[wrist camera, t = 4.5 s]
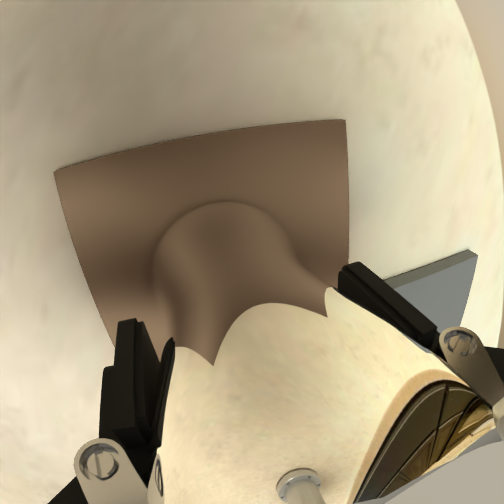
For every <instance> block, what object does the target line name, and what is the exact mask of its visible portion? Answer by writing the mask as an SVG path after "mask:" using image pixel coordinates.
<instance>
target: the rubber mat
mask: <svg viewBox="0 0 504 504" xmlns="http://www.w3.org/2000/svg"><path fill="white" fill-rule="evenodd" d="M477 258H478V255H477V254H475V253H473V252H472V251H470V250H466V251H464V252H461V253H458V254H456V255H453V256H451V257H448V258H445V259H443V260H440V261H437V262H435V263H432V264H429V265H426V266H424V267H421V268H418V269H415V270H413V271H410V272H407V273H404V274H401V275H398V276H395V277H393V278H390V279H387V280H384V282H386V283H387V284H388V285H389V286H390V287H392V288H393V289H394V290H395V291H396V292H398V293H399V294H400V295H401V296H402V297H404V298H405V299H406V300H407V301H408V302H410V303H411V304H412V305H413V306H414V307H415V308H417V309H418V310H419V311H420V312H421V313H422V314H424V315H425V316H426V317H427V318H428V319H429V320H430V321H432V322H433V323H434V324H435V325H436V326H437V331H438V332H439V333H440V334H441V333H442V331H444V330H445V329H447V328H450V327H460V324H461V320H462V317H463V314H464V310H465V307H466V303H467V300H468V296H469V292H470V288H471V284H472V280H473V276H474V272H475V267H476V263H477Z"/></svg>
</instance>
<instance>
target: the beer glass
mask: <svg viewBox="0 0 504 504" xmlns="http://www.w3.org/2000/svg"><path fill="white" fill-rule="evenodd" d="M151 281H152V288H153V291H154V295H155V298H156V301H157V303H158V306H159V308H160V311H161V313H162V316H163V320H164V341H163V348H162V355H161V361H160V367H159V372H158V378H157V384H156V390H155V397H154V404H153V412H152V419H151V427H150V436H149V450H148V477H147V501H148V504H504V425H503V424H502V423H501V422H500V420H499V419H498V415H497V412H496V410H495V408H494V407H493V405H492V404H491V403H489V402H488V401H487V400H486V399H485V398H484V397H483V396H482V395H481V394H480V393H479V392H478V391H477V390H476V389H475V388H474V387H473V386H472V385H471V384H470V383H469V382H468V381H467V380H466V379H465V378H463V377H462V376H461V375H460V374H459V373H458V372H457V371H456V370H455V369H454V368H453V367H452V366H451V365H449V364H448V363H447V362H445V361H444V360H443V359H441V358H440V357H439V356H437V355H436V354H435V353H433V352H432V351H431V350H429V349H428V348H427V347H425V346H424V345H423V344H421V343H420V342H418V341H417V340H416V339H414V338H413V337H412V336H410V335H409V334H408V333H406V332H405V331H403V330H402V329H401V328H399V327H398V326H396V325H394V324H393V323H391V322H390V321H388V320H387V319H385V318H384V317H382V316H380V315H379V314H377V313H376V312H374V311H373V310H371V309H369V308H368V307H366V306H365V305H363V304H362V303H360V302H358V301H357V300H355V299H353V298H352V297H350V296H349V295H347V294H345V293H344V292H342V291H340V290H339V289H337V288H335V287H334V286H332V285H330V284H329V283H327V282H326V281H324V280H323V279H321V278H320V277H318V276H317V275H315V274H314V273H312V272H311V271H310V270H308V269H307V268H306V267H305V266H304V265H303V264H302V263H301V261H300V260H299V258H298V256H297V254H296V251H295V249H294V247H293V245H292V243H291V241H290V239H289V237H288V236H287V234H286V232H285V231H284V230H283V228H282V227H281V226H280V224H279V223H278V222H277V221H276V220H275V219H274V218H273V217H271V216H270V215H269V214H267V213H266V212H264V211H263V210H261V209H259V208H257V207H254V206H252V205H248V204H244V203H239V202H216V203H211V204H207V205H204V206H201V207H198V208H196V209H194V210H192V211H190V212H188V213H186V214H185V215H183V216H182V217H180V218H179V219H178V220H177V221H175V222H174V223H173V224H172V225H171V226H170V227H169V228H168V230H167V231H166V232H165V233H164V235H163V236H162V238H161V239H160V241H159V243H158V245H157V247H156V249H155V252H154V255H153V259H152V265H151Z"/></svg>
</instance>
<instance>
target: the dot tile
mask: <svg viewBox="0 0 504 504" xmlns="http://www.w3.org/2000/svg"><path fill="white" fill-rule="evenodd" d="M54 177H55V181H56V185H57V189H58V193H59V197H60V201H61V204H62V208H63V211H64V215H65V218H66V222H67V225H68V228H69V232H70V235H71V238H72V241H73V244H74V247H75V250H76V253H77V256H78V259H79V262H80V265H81V267H82V270H83V273H84V276H85V278H86V281H87V284H88V286H89V289H90V291H91V294H92V296H93V299H94V301H95V304H96V306H97V309H98V311H99V313H100V316H101V318H102V320H103V323H104V325H105V327H106V329H107V332H108V334H109V336H110V338H111V340H112V343H113V345H114V347H115V345H116V334H117V325H118V322H119V321H123V320H127V319H132V318H136V319H137V321H138V322H140V321H143V322H144V324H145V326H146V329H147V331H148V334H149V336H150V339H151V341H152V344H153V346H154V349H155V351H156V354H157V356H158V359H159V361H161V355H162V348H163V341H164V320H163V316H162V313H161V311H160V308H159V306H158V303H157V301H156V298H155V295H154V291H153V288H152V281H151V265H152V259H153V255H154V252H155V249H156V247H157V245H158V243H159V241H160V239H161V238H162V236H163V235H164V233H165V232H166V231H167V230H168V228H169V227H170V226H171V225H172V224H173V223H174V222H175V221H177V220H178V219H179V218H180V217H182V216H183V215H185V214H186V213H188V212H190V211H192V210H194V209H196V208H198V207H201V206H204V205H207V204H211V203H216V202H239V203H244V204H248V205H252V206H254V207H257V208H259V209H261V210H263V211H264V212H266V213H267V214H269V215H270V216H271V217H273V218H274V219H275V220H276V221H277V222H278V223H279V224H280V226H281V227H282V228H283V230H284V231H285V232H286V234H287V236H288V237H289V239H290V241H291V243H292V245H293V247H294V249H295V251H296V254H297V256H298V258H299V260H300V261H301V263H302V264H303V265H304V266H305V267H306V268H307V269H308V270H310V271H311V272H312V273H314V274H315V275H317V276H318V277H320V278H321V279H323V280H324V281H326V282H327V283H329V284H330V285H332V286H334V287H335V288H337V289H338V273H339V272H340V271H342V267H343V266H344V265H348V257H349V185H348V156H347V137H346V122H345V120H341V119H340V120H322V121H308V122H296V123H286V124H276V125H267V126H258V127H250V128H243V129H236V130H229V131H222V132H216V133H210V134H204V135H198V136H193V137H187V138H182V139H177V140H172V141H167V142H162V143H157V144H153V145H148V146H144V147H140V148H135V149H131V150H127V151H123V152H119V153H115V154H111V155H107V156H104V157H100V158H96V159H93V160H89V161H86V162H82V163H79V164H76V165H72V166H69V167H66V168H63V169H59V170H56V171H55V172H54Z"/></svg>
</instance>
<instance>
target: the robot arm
mask: <svg viewBox="0 0 504 504" xmlns="http://www.w3.org/2000/svg"><path fill="white" fill-rule="evenodd" d="M338 289H339V290H340V291H342V292H344V293H345V294H347V295H349V296H350V297H352V298H353V299H355V300H357V301H358V302H360V303H362V304H363V305H365V306H366V307H368V308H369V309H371V310H373V311H374V312H376V313H377V314H379V315H380V316H382V317H384V318H385V319H387V320H388V321H390V322H391V323H393V324H394V325H396V326H398V327H399V328H401V329H402V330H403V331H405V332H406V333H408V334H409V335H410V336H412V337H413V338H414V339H416V340H417V341H418V342H420V343H421V344H423V345H424V346H425V347H427V348H428V349H429V350H431V351H432V352H433V353H435V354H436V355H437V356H439V357H440V358H441V359H443V360H444V361H445V362H447V363H448V364H449V365H451V366H452V367H453V368H454V369H455V370H456V371H457V372H458V373H459V374H460V375H461V376H462V377H463V378H465V379H466V380H467V381H468V382H469V383H470V384H471V385H472V386H473V387H474V388H475V389H476V390H477V391H478V392H479V393H480V394H481V395H482V396H483V397H484V398H485V399H486V400H487V401H488V402H489V403H491V404H492V405H493V407H494V408H495V410H496V412H497V415H498V419H499V420H500V422H501V423H502V424H503V425H504V349H501V348H493V347H485V346H483V344H482V342H481V340H480V339H479V337H478V336H477V335H476V334H475V333H474V332H473V331H471V330H469V329H467V328H463V327H450V328H447V329H445V330H444V331H442V333H441V334H440V333H439V332H438V331H437V326H436V325H435V324H434V323H433V322H432V321H430V320H429V319H428V318H427V317H426V316H425V315H424V314H422V313H421V312H420V311H419V310H418V309H417V308H415V307H414V306H413V305H412V304H411V303H410V302H408V301H407V300H406V299H405V298H404V297H402V296H401V295H400V294H399V293H398V292H396V291H395V290H394V289H393V288H392V287H390V286H389V285H388V284H387V283H386V282H384V281H383V280H382V279H381V278H380V277H378V276H377V275H376V274H375V273H373V272H372V271H371V270H370V269H368V268H367V267H366V266H365V265H363V264H362V263H361V262H355V263H351V264H348V265H344V266H343V267H342V271H340V272H339V273H338ZM159 367H160V361H159V359H158V356H157V354H156V351H155V349H154V346H153V344H152V341H151V339H150V336H149V334H148V331H147V329H146V326H145V324H144V322H143V321H140V322H138V321H137V319H136V318H132V319H127V320H123V321H119V322H118V325H117V334H116V345H115V357H114V366H108V367H105V368H104V371H103V378H102V390H101V404H100V422H99V438H98V439H94V440H91V441H89V442H87V443H86V444H84V445H83V446H82V447H81V448H80V449H79V450H78V452H77V454H76V456H75V458H74V469H75V473H76V477H75V478H74V479H73V480H72V481H71V482H70V483H69V484H68V485H67V486H66V487H65V488H64V489H62V490H61V491H60V492H59V493H58V494H57V495H56V496H55V497H54V498H53V499H52V500H51V501H50V502H49V503H48V504H148V501H147V477H148V450H149V436H150V427H151V419H152V412H153V404H154V397H155V390H156V384H157V378H158V372H159Z"/></svg>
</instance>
